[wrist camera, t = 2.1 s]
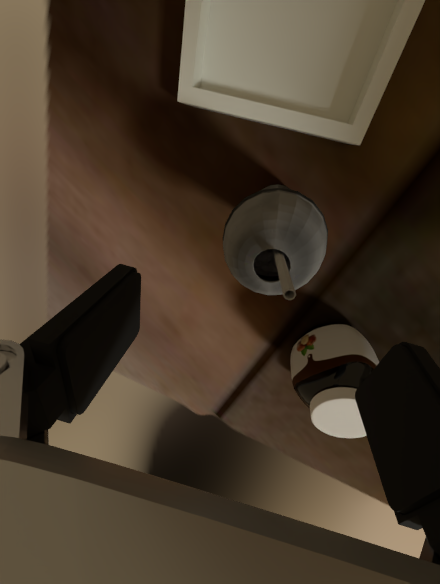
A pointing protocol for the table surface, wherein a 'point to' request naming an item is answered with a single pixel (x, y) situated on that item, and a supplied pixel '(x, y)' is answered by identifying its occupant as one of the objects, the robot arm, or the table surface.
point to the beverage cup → (275, 241)
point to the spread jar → (332, 376)
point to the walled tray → (294, 60)
